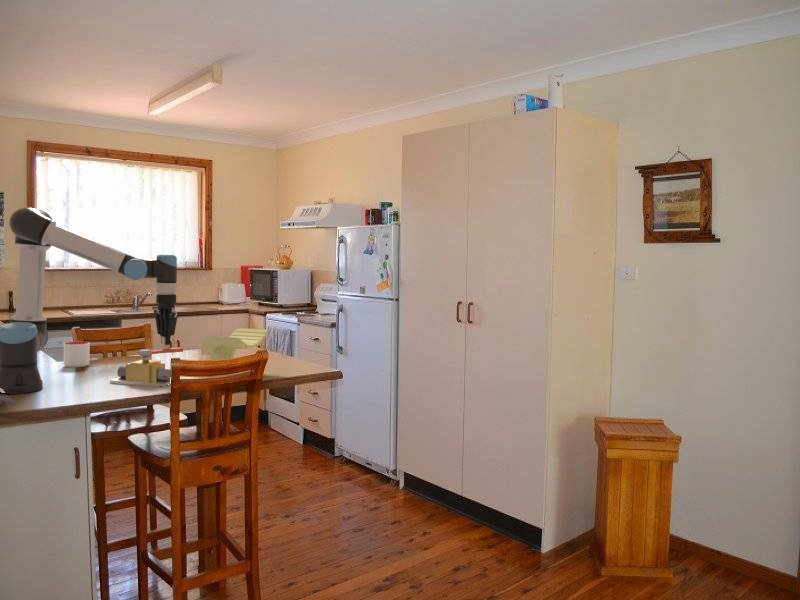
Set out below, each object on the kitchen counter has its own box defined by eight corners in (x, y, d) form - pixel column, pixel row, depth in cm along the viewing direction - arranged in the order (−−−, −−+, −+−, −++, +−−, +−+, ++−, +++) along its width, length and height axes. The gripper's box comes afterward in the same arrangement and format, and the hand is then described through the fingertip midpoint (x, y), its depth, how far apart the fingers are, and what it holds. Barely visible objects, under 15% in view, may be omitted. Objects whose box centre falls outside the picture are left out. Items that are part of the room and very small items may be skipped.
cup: (82, 368, 266) (82, 345, 265) (58, 367, 266) (58, 344, 265) (94, 364, 276) (94, 341, 275) (71, 363, 276) (71, 341, 275)
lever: (142, 356, 238) (142, 351, 238) (137, 354, 241) (137, 350, 241) (184, 352, 251) (184, 347, 251) (178, 350, 254) (178, 346, 254)
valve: (179, 381, 246) (180, 354, 245) (163, 387, 234) (163, 359, 233) (129, 377, 250) (129, 351, 249) (109, 383, 238) (110, 356, 237)
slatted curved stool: (232, 367, 279) (233, 327, 278) (266, 369, 276) (267, 329, 275) (200, 380, 249) (201, 335, 248) (238, 382, 247) (239, 337, 246)
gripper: (185, 294, 247) (184, 353, 249) (164, 292, 254) (163, 349, 256) (168, 295, 241) (167, 355, 243) (147, 292, 248) (147, 351, 250)
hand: (165, 352), depth 249 cm, fingers closed
